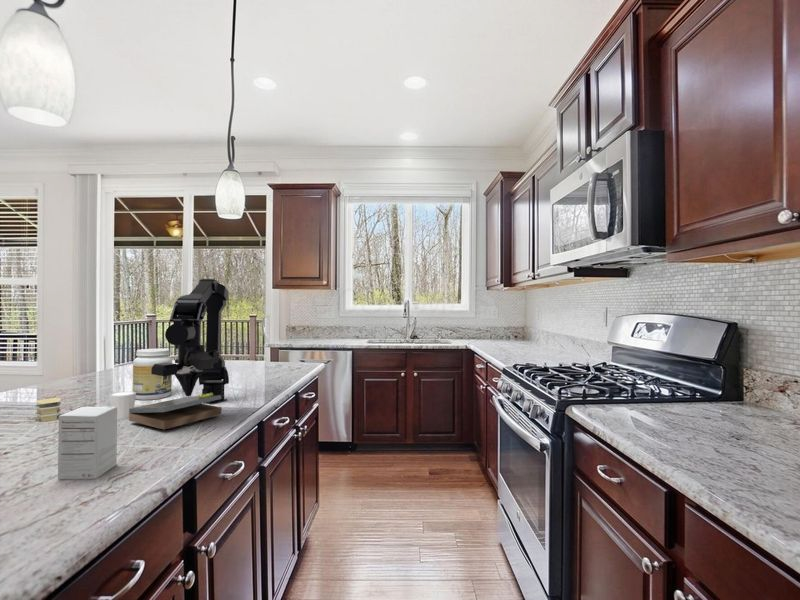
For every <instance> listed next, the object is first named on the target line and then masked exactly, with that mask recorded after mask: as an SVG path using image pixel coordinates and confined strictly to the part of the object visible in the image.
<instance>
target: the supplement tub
mask: <svg viewBox="0 0 800 600" xmlns="http://www.w3.org/2000/svg"><path fill="white" fill-rule="evenodd" d="M170 354H171V353H170V348H159V347H158V348H141V349H137V350H136V352H135V356H136V358H134V360H133V361H132V392H136V397H135V400H139V401H141V400H142V401H143V400H144V401H151V400H152V401H153V400H160V399H163V398H168V397H169V396H170V395H171V394H172V386H173V385H172V381H173V380H172V376H173V375H169V376H159V375H153V374H151V368H152V367H153V365H154V364H158V363H173V359H172V357H171V356H169V355H170Z"/></svg>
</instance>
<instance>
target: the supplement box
mask: <svg viewBox="0 0 800 600" xmlns="http://www.w3.org/2000/svg"><path fill="white" fill-rule="evenodd" d="M117 439H118V420H117V407H110V406H81V407H78V408H76V409H73V410H71V411H68V412H66V413H63V414H61V415H58V443H57V444H58V445H57V448H58V449H57V450H58V451H57V455H58V457H57V460H58V461H57V479H58V480H92V479H93V480H95V479H98V478H99V477H100V476H102V475H104V474H105V473H106V472H108V471H110V470H111V469H112V468H114V467H115V466H117V464H118V463H117V459H118V458H117V457H118V455H117V453H118V449H117V447H118V440H117Z"/></svg>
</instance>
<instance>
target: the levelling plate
mask: <svg viewBox="0 0 800 600" xmlns="http://www.w3.org/2000/svg"><path fill="white" fill-rule="evenodd" d="M219 399H221V395H213V393H207V394H202V393H201V394H199V395H195V396H192V395H191V396H184V397H183V396H182V397H180V398H174V399H169V400H164V401H160V402H154V403H150V404H145V405H140V406H136V407H135V406H134V408H130V409H129V413H148V412H166V411H171V410H175V409H179V408H184V407H188V406H193V405H197V404H205V403H206V402H210V401H214V400H219ZM206 404H207V403H206Z"/></svg>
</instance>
